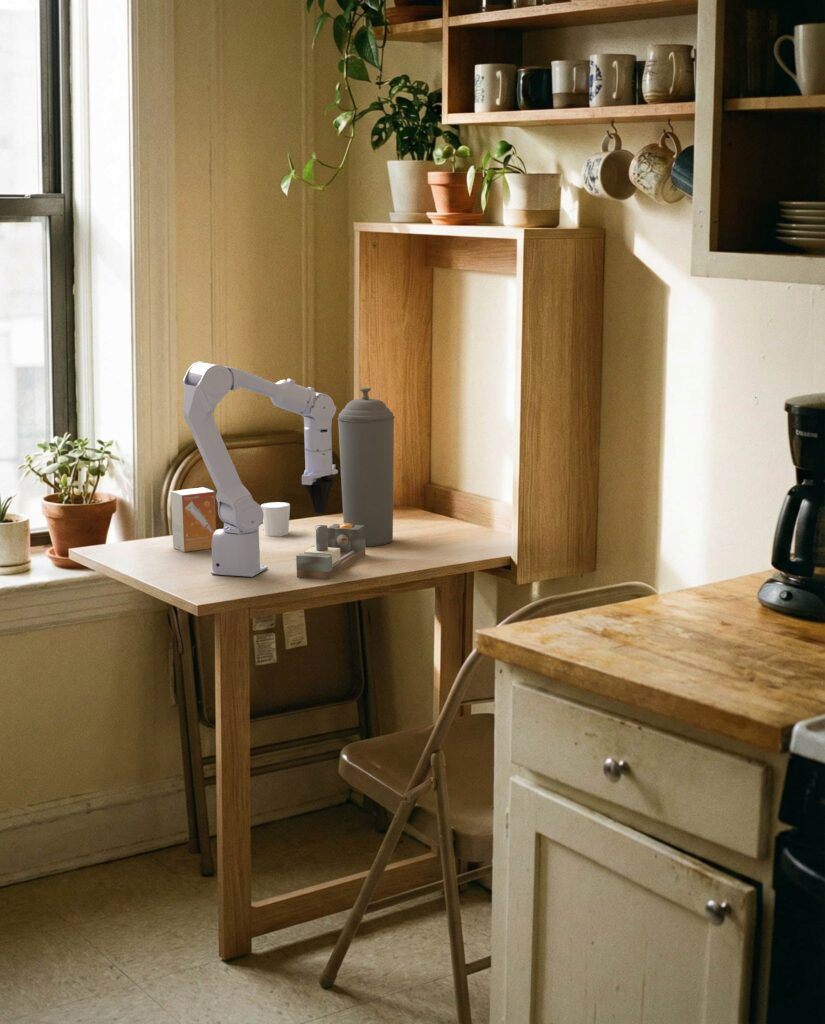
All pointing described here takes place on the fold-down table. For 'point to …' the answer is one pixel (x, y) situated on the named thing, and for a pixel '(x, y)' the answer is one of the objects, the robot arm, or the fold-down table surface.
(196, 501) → the small box
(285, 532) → the white tapered cylinder
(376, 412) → the canister
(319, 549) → the carriage
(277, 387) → the robot arm
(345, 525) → the button
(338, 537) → the rail base
